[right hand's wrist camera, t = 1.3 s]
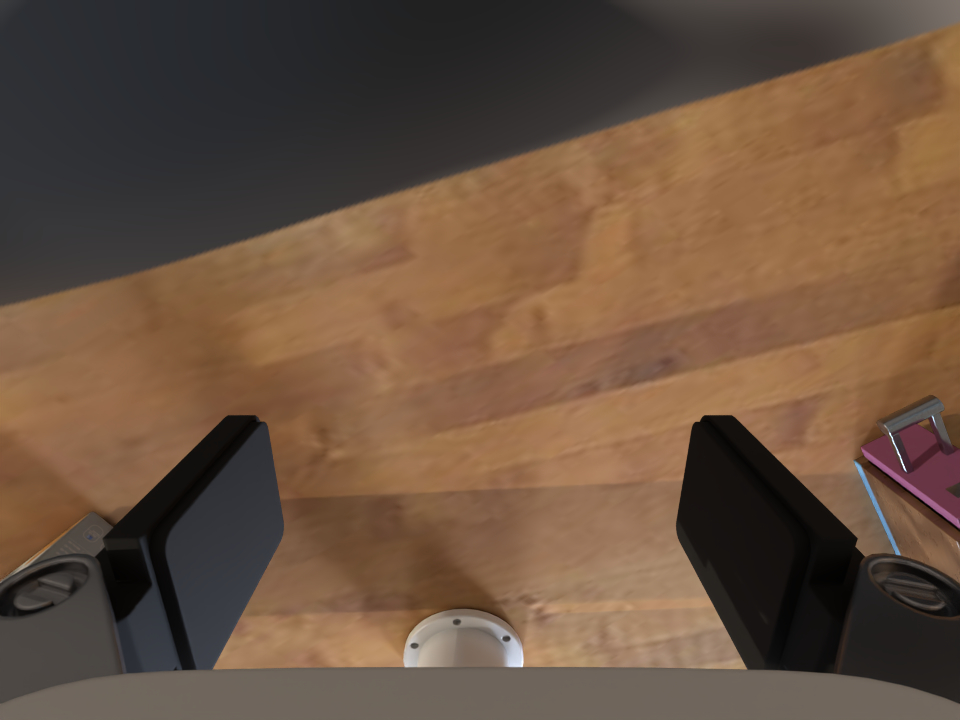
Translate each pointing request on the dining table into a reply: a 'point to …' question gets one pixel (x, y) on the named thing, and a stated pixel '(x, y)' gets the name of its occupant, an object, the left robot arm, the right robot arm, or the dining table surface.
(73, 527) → the hard drive box
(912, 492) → the drawer
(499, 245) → the dining table surface
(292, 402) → the dining table surface
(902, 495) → the cabinet
